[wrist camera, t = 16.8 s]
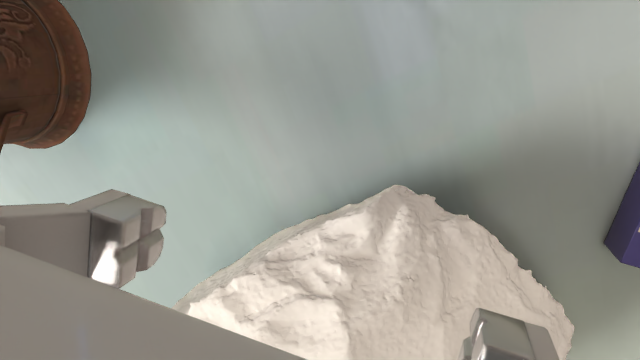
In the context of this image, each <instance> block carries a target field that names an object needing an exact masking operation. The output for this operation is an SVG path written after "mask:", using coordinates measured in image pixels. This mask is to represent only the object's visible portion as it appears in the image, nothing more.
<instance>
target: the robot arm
mask: <svg viewBox="0 0 640 360" xmlns="http://www.w3.org/2000/svg"><path fill="white" fill-rule="evenodd" d="M165 223H166V210H165V208H164V206H162V205H159V204H156V203H153V202H150V201H147V200H144V199H141V198H138V197H135V196H132V195H130V194H128V193H124V192H121V191H117V190H113V189H111V190H108V191H105V192H103V193H100V194H97V195H94V196H91V197H89V198H86V199H83V200H80V201H78V202H75V203H72V204H69V205H67V204H64V203H56V204H31V205H6V206H0V360H307V359H305V358H302V357H299V356H297V355H294V354H291V353H289V352H286V351H283V350H281V349H278V348H275V347H272V346H270V345H267V344H264V343H262V342H259V341H256V340H254V339H251V338H248V337H246V336H243V335H240V334H238V333H235V332H232V331H230V330H227V329H224V328H222V327H219V326H216V325H214V324H211V323H208V322H206V321H203V320H200V319H198V318H195V317H192V316H190V315H187V314H184V313H182V312H179V311H176V310H174V309H171V308H168V307H165V306H163V305H160V304H157V303H155V302H152V301H149V300H147V299H144V298H141V297H139V296H136V295H133V294H131V293H128V292H125V291H123V290H120V289H119V288H121V287H122V286H124V285H125V284H127V283H128V282H130V281H131V280H133V279H134V278H135V274H136V272H138V271H144V270H147V269H149V268H150V267H151V266H153V265H154V264H155V262H156V261H157V259H158V258H159V256H160V254H161V251H162V248H163V242H164V238H163V235H162V233H161V231H160V228H161V227H162V226H163V225H164V224H165ZM469 325H470V336H469V337H468V338H466V339H464V340H463V343H462V346H461V349H460V352H459V356H458V360H559V357H558V355H557V352H556V349H555V347H554V344H553V342H552V339H551V337H550V334H549V332H548V330H547V329H546V328H545V327H541V326H538V325H534V324H530V323H527V322H524V321H522V320H519V319H516V318H512V317H509V316H505V315H502V314H499V313H495V312H492V311H489V310H485V309H482V308H476V309H475V311H474V313H473V315H472V318H471V321H470V323H469Z"/></svg>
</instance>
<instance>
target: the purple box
mask: <svg viewBox="0 0 640 360" xmlns="http://www.w3.org/2000/svg"><path fill="white" fill-rule="evenodd" d="M604 244H605V245H606V247H607V248H608V249H609V250H610V251H611V252H612V253H613V255H614V256H615V257H616V258H617V259H618V260H619V261H620V262H621V263H624V264H627V265H631V266H634V267H638V268H640V163H639V165H638V167H637V170H636V172H635V174H634V176H633V178H632V181H631V183H630V185H629V187H628V190H627V192H626V194H625V196H624V199H623V201H622V203H621V205H620V208H619V210H618V212H617V214H616V217H615V219H614V221H613V223H612V226H611V228H610V230H609V232H608V235H607V237H606V239H605V241H604Z"/></svg>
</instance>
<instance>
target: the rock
mask: <svg viewBox="0 0 640 360" xmlns="http://www.w3.org/2000/svg"><path fill="white" fill-rule="evenodd" d="M434 200H435V197H431V196H429V195H428V194H427V195H426V194H423V195H417V194H416V193H414V192H413V191H411V190H410V189H408V188H407V187H405V186H402V185H393V186H392V187H390V188H387V189H384V190H383V191H382V192H380V193H378V194H376V195H374V196H372V197H369V198H367V199H365V200H364V201H363V202H361V203H358V204H349V205H346V206H343V207H342V208H340V209H339V210H335V211H333V212H331V213H328V214H326V215H324V214H322V215H318V216H317V217H316V218H314V219H312V220H311V219H307V220H305V221H304V222H302V223H301V224H298V225H294V226H292V227H288V228H286V229H283V230H281V231H280V232H278V233H276V234H274V235H272V236H271V237H269V238H268V239H267V240H265V241H263V242H262V243H261V244H258V245H257V246H256V247H254V248H253V249H252V250H251V251H249V253H247V254H246V255H245V256H244V257H243V258H241V259H238V260H237V261H236V262H234V263H233V264H231V265H230V266H228V267H225V268H222V269H220V270H219V271H218V272H216V273H215V274H213V275H212V276H211V277H209V278H207V279H206V280H205V281H203V282H201V283H199V284H198V285H197V286H196V287H194V288H193V289H192V290H191V291H190V292H189V293H187V294H186V295H185V296H184V297H183V298H182V299H180V300H179V301H178V302H177V303H176V304H175V305H174V306H173V307H172V308H171V309H174V310H176V311H179V312H182V313H184V314H187V315H190V316H192V317H195V318H198V319H200V320H203V321H206V322H208V323H211V324H214V325H216V326H219V327H222V328H224V329H227V330H230V331H232V332H235V333H238V334H240V335H243V336H246V337H248V338H251V339H254V340H256V341H259V342H262V343H264V344H267V345H270V346H272V347H275V348H278V349H281V350H283V351H286V352H289V353H291V354H294V355H297V356H299V357H302V358H305V359H307V360H458V356H459V352H460V349H461V346H462V343H463V340H464V339H466V338H468V337H469V336H470V325H469V323H470V321H471V318H472V315H473V313H474V311H475V309H476V308H482V309H485V310H489V311H492V312H495V313H499V314H502V315H505V316H509V317H512V318H516V319H519V320H522V321H524V322H527V323H530V324H534V325H538V326H541V327H545V328H546V329H547V330H548V332H549V334H550V337H551V339H552V342H553V344H554V347H555V349H556V352H557V355H558V357H559V360H566V356H567V354H568V352H569V350H570V349H571V347H572V345H571V337H572V335H573V332H574V326H573V324H572V323H571V322H570V320H569V319H568V318H567V316H565V315H564V313H565V312H564V309H563V306H562V304H560V303H559V302H557V301H556V300H555V299H554V298H553V297H552V295H551V294H550V291H548V290H547V288H546V286H544V287H543V286H542V284H540V283H537V282H536V278H533V277H532V271H531V270H524V269H522V268H520V267H519V266H518V259H517V258H515V257H514V255H513V254H512V253H510V252H509V251H507V250H505V248H504V247H503V246H502V244H501V243H499V240H498V239H497V238H496V236H494V235H492V234H490V233H489V231H488V230H487V229H486V228H484V227H483V226H482V225H480V224H477V223H476V222H475V221H473V220H471V219H470V218H469V216H468V214H467V215H454V214H452V213H449V212H447V211H444V209H443V208H442V207H440V206H438V205H437V203H436V202H435V201H434Z"/></svg>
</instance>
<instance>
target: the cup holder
mask: <svg viewBox="0 0 640 360" xmlns="http://www.w3.org/2000/svg"><path fill="white" fill-rule="evenodd" d="M90 89H91V71H90V65H89V59H88V53H87V49H86V47H85V44H84V42H83V39H82V36H81V34H80V31H79V29H78V27H77V25H76V24H75V22H74V21H73V19H72V18H71V16H70V15H69V13H68V12H67V10H66V9H65V7H64V6H63V5H62V4H61V3H59V2H58V1H57V0H0V153H1V150H2V146H3V144H6V143H8V144H17V145H20V146H24V147H27V148H49V147H52V146H54V145H57V144H60V143H62V142H63V141H65V140H66V139H67V138H68V137H69V136H71V135H72V134H73V133H74V132H75V131H76V129H77V128H78V126H79V124H80V123H81V121H82V120H83V118H84V116H85V113H86V109H87V106H88V103H89V99H90Z"/></svg>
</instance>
